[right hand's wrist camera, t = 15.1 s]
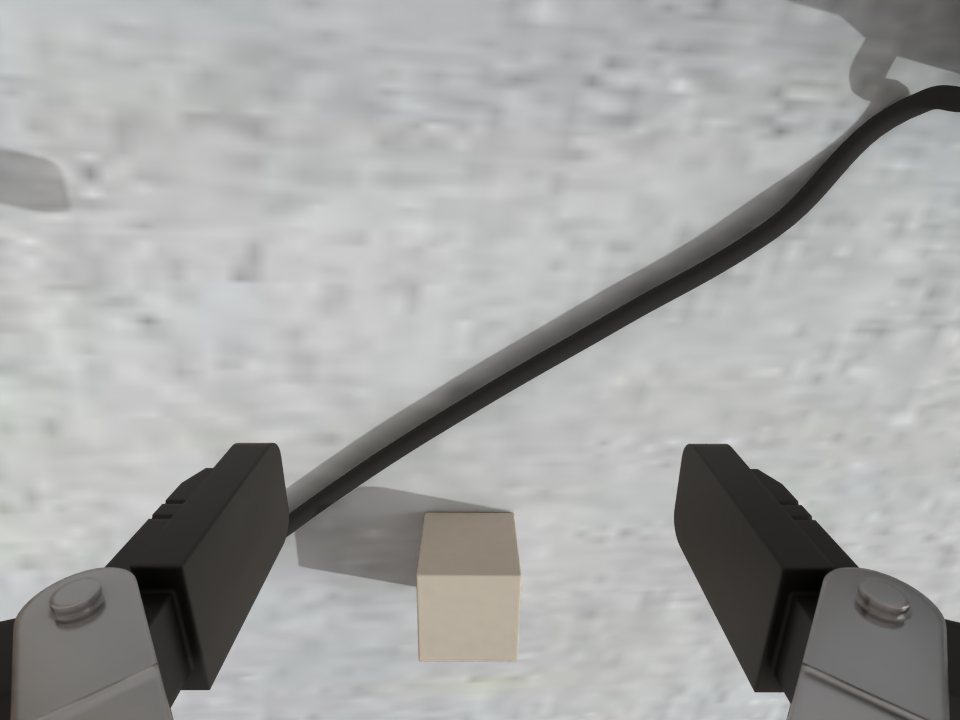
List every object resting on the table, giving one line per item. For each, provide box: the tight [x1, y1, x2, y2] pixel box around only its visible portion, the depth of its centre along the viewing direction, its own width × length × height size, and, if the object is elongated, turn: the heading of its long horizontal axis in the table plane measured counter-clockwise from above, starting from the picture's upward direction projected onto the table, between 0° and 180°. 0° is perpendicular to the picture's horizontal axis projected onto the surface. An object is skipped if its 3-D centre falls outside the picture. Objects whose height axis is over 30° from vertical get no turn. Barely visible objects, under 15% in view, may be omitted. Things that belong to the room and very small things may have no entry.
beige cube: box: [416, 512, 521, 662], centre depth 28 cm, size 5×5×5 cm
